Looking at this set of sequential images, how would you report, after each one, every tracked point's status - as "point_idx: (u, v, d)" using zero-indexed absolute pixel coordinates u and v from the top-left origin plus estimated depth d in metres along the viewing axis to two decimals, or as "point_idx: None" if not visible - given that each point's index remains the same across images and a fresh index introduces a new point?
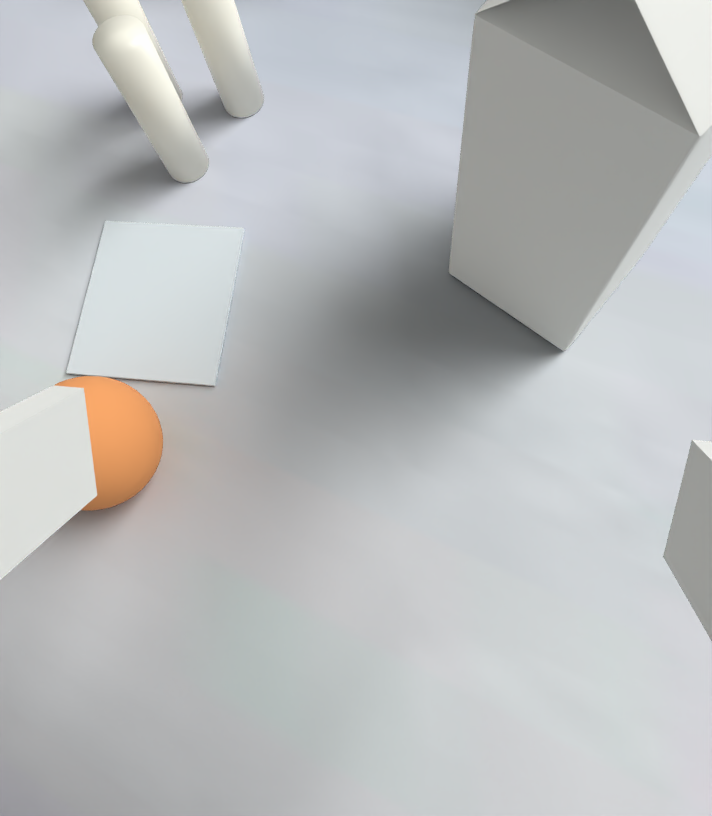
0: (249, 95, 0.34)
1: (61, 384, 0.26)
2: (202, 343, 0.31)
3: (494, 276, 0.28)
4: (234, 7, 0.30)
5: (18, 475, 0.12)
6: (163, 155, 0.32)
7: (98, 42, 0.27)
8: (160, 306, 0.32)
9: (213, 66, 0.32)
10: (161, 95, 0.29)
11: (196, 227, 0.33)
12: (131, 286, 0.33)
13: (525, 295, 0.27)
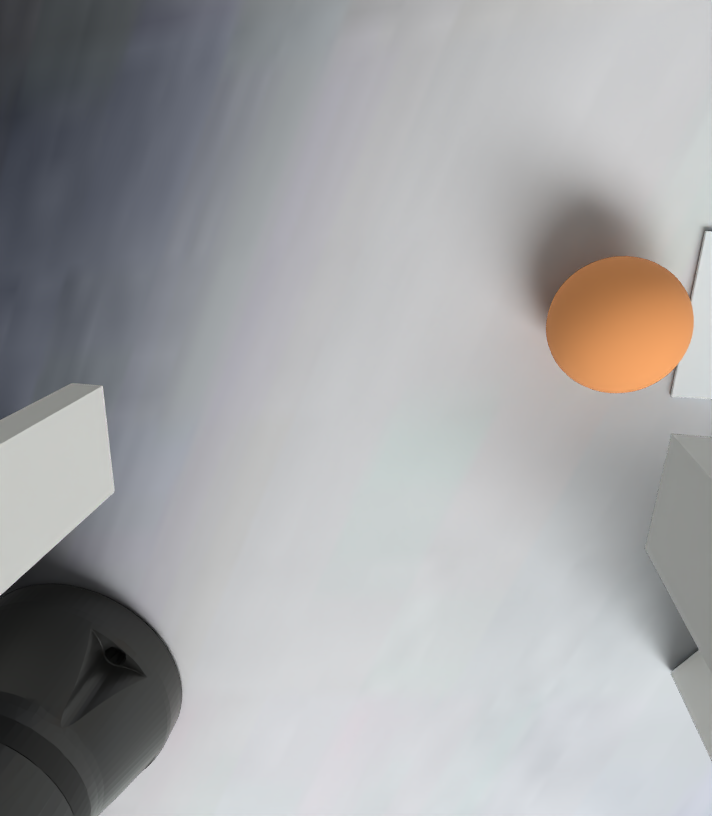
0: None
1: (685, 318, 0.25)
2: None
3: None
4: None
5: (41, 471, 0.12)
6: None
7: None
8: None
9: None
10: None
11: None
12: None
13: None
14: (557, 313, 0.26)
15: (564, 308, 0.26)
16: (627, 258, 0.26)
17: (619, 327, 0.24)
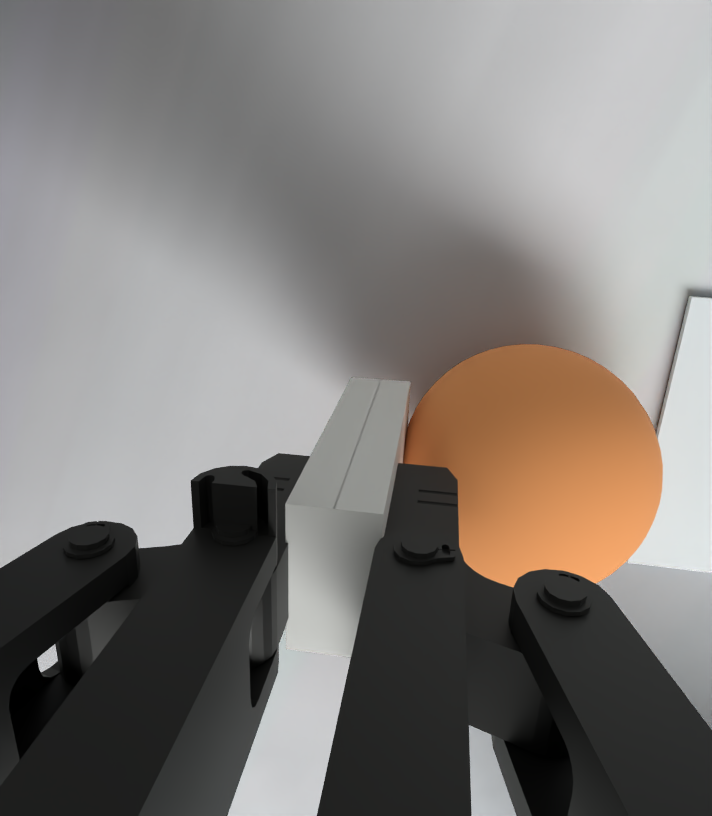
0: None
1: (644, 485, 0.12)
2: (711, 541, 0.18)
3: None
4: None
5: None
6: None
7: None
8: None
9: None
10: None
11: None
12: None
13: None
14: (409, 449, 0.14)
15: (418, 444, 0.14)
16: (540, 354, 0.13)
17: (509, 503, 0.12)
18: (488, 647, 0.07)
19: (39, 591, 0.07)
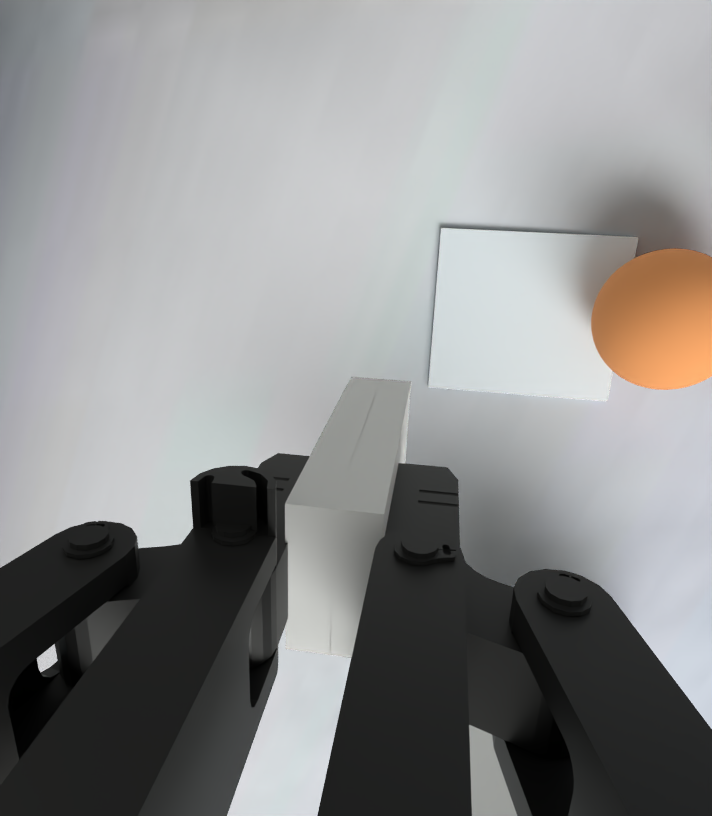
0: None
1: (609, 301, 0.25)
2: (471, 371, 0.31)
3: None
4: None
5: None
6: None
7: None
8: (516, 322, 0.30)
9: None
10: None
11: None
12: (543, 285, 0.29)
13: None
14: None
15: None
16: None
17: None
18: (488, 647, 0.07)
19: (39, 590, 0.07)
